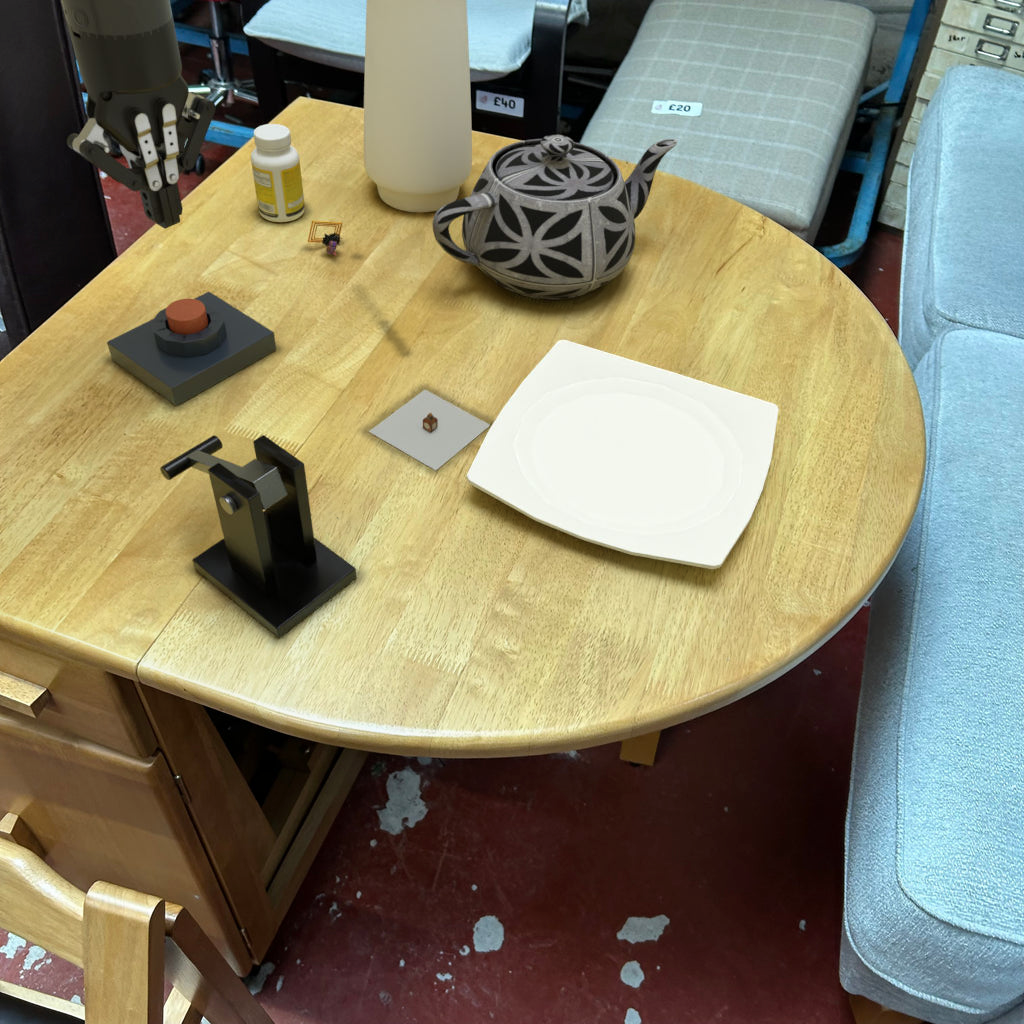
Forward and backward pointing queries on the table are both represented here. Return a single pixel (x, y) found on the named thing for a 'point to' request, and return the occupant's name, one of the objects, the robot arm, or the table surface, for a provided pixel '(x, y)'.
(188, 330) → the button
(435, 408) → the grey square pad
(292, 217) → the supplement bottle
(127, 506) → the table surface
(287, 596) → the lever bracket
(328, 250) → the figurine with orange frame
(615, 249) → the teapot
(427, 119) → the vase
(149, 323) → the button box
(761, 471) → the plate
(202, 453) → the press lever
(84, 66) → the robot arm
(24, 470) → the table surface
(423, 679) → the table surface
